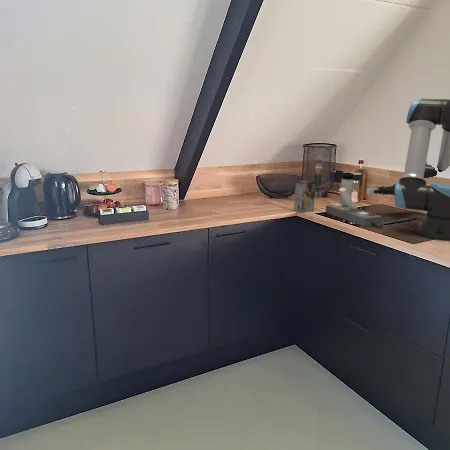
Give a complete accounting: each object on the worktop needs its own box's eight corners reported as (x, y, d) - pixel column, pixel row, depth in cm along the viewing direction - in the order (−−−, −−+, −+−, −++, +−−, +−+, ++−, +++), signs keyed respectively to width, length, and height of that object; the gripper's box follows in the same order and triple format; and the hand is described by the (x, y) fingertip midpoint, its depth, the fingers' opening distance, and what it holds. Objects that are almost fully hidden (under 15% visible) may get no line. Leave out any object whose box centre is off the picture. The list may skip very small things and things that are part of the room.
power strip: (390, 227, 203) (391, 217, 201) (372, 229, 198) (373, 218, 197) (341, 211, 234) (342, 201, 233) (325, 212, 230) (326, 203, 229)
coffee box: (305, 208, 237) (308, 180, 233) (313, 211, 232) (316, 182, 228) (293, 210, 232) (295, 181, 228) (301, 212, 227) (303, 183, 223)
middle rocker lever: (357, 209, 216) (346, 188, 210) (355, 211, 216) (343, 191, 210) (352, 207, 220) (341, 187, 213) (349, 209, 219) (338, 190, 213)
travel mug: (349, 206, 246) (353, 172, 240) (350, 209, 240) (354, 174, 234) (338, 205, 247) (342, 171, 242) (338, 208, 241) (342, 173, 236)
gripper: (410, 199, 223) (376, 201, 214) (391, 194, 235) (358, 196, 225) (412, 184, 222) (378, 186, 212) (393, 181, 233) (360, 182, 223)
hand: (368, 191), depth 219 cm, fingers closed
